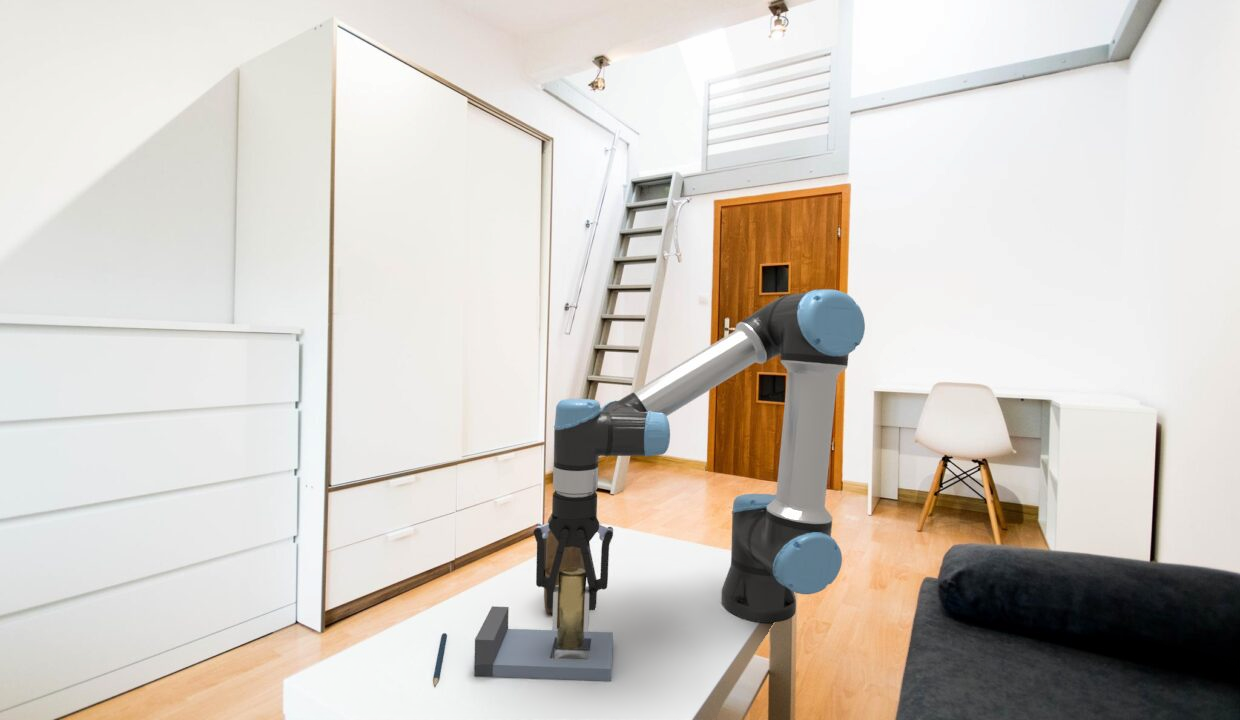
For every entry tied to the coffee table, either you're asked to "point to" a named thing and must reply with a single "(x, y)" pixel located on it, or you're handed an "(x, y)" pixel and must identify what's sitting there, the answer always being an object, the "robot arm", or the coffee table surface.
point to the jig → (536, 652)
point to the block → (569, 559)
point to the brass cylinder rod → (571, 608)
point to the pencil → (439, 659)
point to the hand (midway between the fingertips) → (571, 626)
